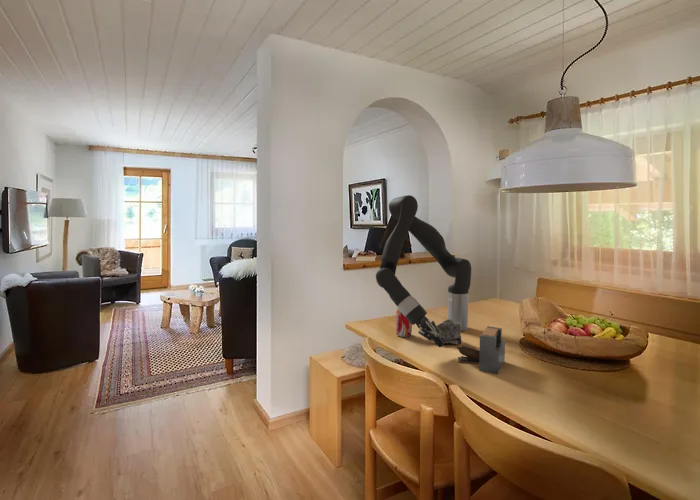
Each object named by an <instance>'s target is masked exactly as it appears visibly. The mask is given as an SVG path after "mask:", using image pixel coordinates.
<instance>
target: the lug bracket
mask: <svg viewBox="0 0 700 500" xmlns="http://www.w3.org/2000/svg"><path fill="white" fill-rule="evenodd" d="M479 350H480V352H479V365H478V371H479V372H484V373H490V374H496V375H499V373H500V372H501V369H502V368H503V366H504V364H505V362H506V361H505V358H506V357H505V355H506V340H505V339H503V328H502V327H494V326H487V327H486V328H485V329H484V330H483V332H481V334H480V335H479Z"/></svg>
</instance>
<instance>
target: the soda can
mask: <svg viewBox="0 0 700 500" xmlns="http://www.w3.org/2000/svg"><path fill="white" fill-rule="evenodd" d="M412 328H413V325H412V324H411V323H410V322H409V321H408V320H407V318H406V317H405V316H404V315H403V314H402V312H401V311H400V310H399V308H398V307H397V309H396V312H395V334H396V335H397V336H398V337H401V338H408V337H410V336H411V335H412V334H413V333H412V331H413V329H412Z"/></svg>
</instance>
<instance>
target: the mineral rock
mask: <svg viewBox="0 0 700 500" xmlns="http://www.w3.org/2000/svg"><path fill="white" fill-rule="evenodd" d="M436 327H437V329H438V331H439V333H438V336H439V337H440V338H441V339H442V341H443V342H444V344H447V343H448V341H450V340H452V339H455V338H460V344H461V343H462V335H461V332H462V331H461V329H460V323H459V322H453V321H452V320H449V319H448V318H447V319H446V320H443V321H442V322H441V323H439V324H437V325H436ZM429 341H431V342H434V341H433V340H429ZM434 343H435V342H434ZM448 344H454V345H457V344H458V341H455V340H454V341H450V342H449V343H448ZM460 344H459V345H460Z"/></svg>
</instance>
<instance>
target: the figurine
mask: <svg viewBox="0 0 700 500" xmlns="http://www.w3.org/2000/svg"><path fill="white" fill-rule="evenodd" d="M454 340H455V341H458V344H456V348H457V350H458V351H459V353H460V354H461V356H458V358H457V359H458V364H466V365H467V364H468V365H478V366H479V352H480V349H477V348H475V347H472V346H470V345H466V344H465V345H464V344H463V345H460V338H455V339H452V340H450V341H454ZM450 341H448V343H446V345H449V344H450V343H449V342H450ZM459 345H460V346H459ZM462 355H463V356H462Z"/></svg>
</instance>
